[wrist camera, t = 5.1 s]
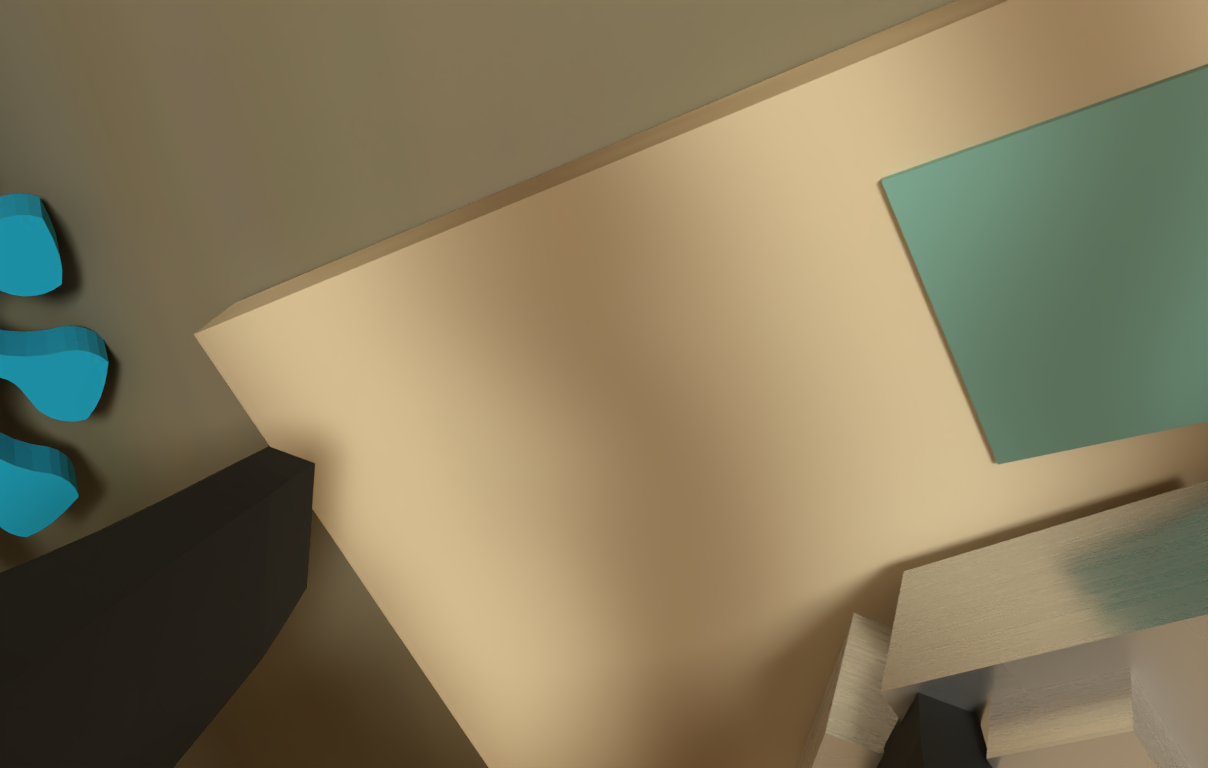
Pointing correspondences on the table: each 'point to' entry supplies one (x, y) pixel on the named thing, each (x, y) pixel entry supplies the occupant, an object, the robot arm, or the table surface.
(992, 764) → the faceted metal ring
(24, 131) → the table surface
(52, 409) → the gear
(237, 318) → the beige square board
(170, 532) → the robot arm
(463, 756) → the table surface
